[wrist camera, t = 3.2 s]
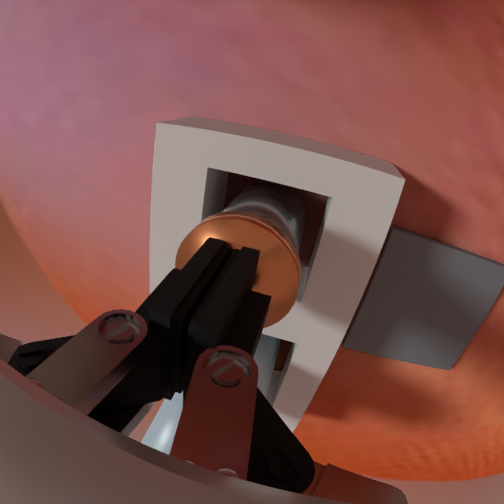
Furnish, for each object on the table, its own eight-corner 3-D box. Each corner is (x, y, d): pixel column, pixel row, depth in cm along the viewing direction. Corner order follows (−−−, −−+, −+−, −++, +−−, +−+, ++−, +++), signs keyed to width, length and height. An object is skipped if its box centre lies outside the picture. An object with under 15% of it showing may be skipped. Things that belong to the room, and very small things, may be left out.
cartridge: (290, 311, 19) (235, 501, 9) (273, 362, 21) (223, 522, 11) (215, 290, 19) (116, 455, 9) (209, 342, 22) (132, 488, 12)
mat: (509, 266, 14) (511, 270, 13) (448, 366, 18) (449, 370, 17) (392, 226, 15) (393, 229, 15) (342, 343, 19) (342, 347, 18)
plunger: (322, 186, 14) (313, 240, 9) (301, 263, 16) (281, 343, 11) (235, 164, 15) (178, 205, 10) (223, 242, 17) (173, 309, 12)
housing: (391, 162, 14) (405, 179, 11) (297, 402, 22) (290, 436, 20) (189, 116, 15) (156, 122, 12) (173, 363, 24) (155, 392, 21)
